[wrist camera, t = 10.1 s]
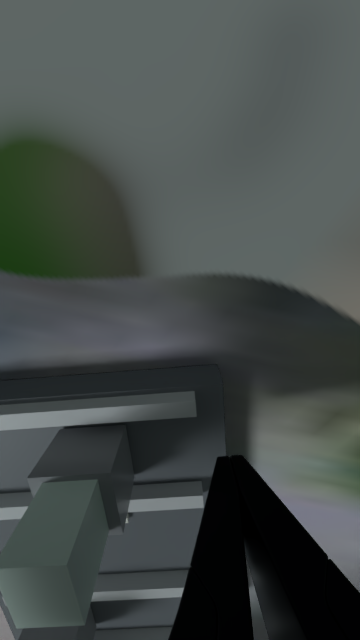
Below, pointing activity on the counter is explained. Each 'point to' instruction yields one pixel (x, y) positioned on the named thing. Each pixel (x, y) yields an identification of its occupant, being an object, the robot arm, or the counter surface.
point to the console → (149, 483)
